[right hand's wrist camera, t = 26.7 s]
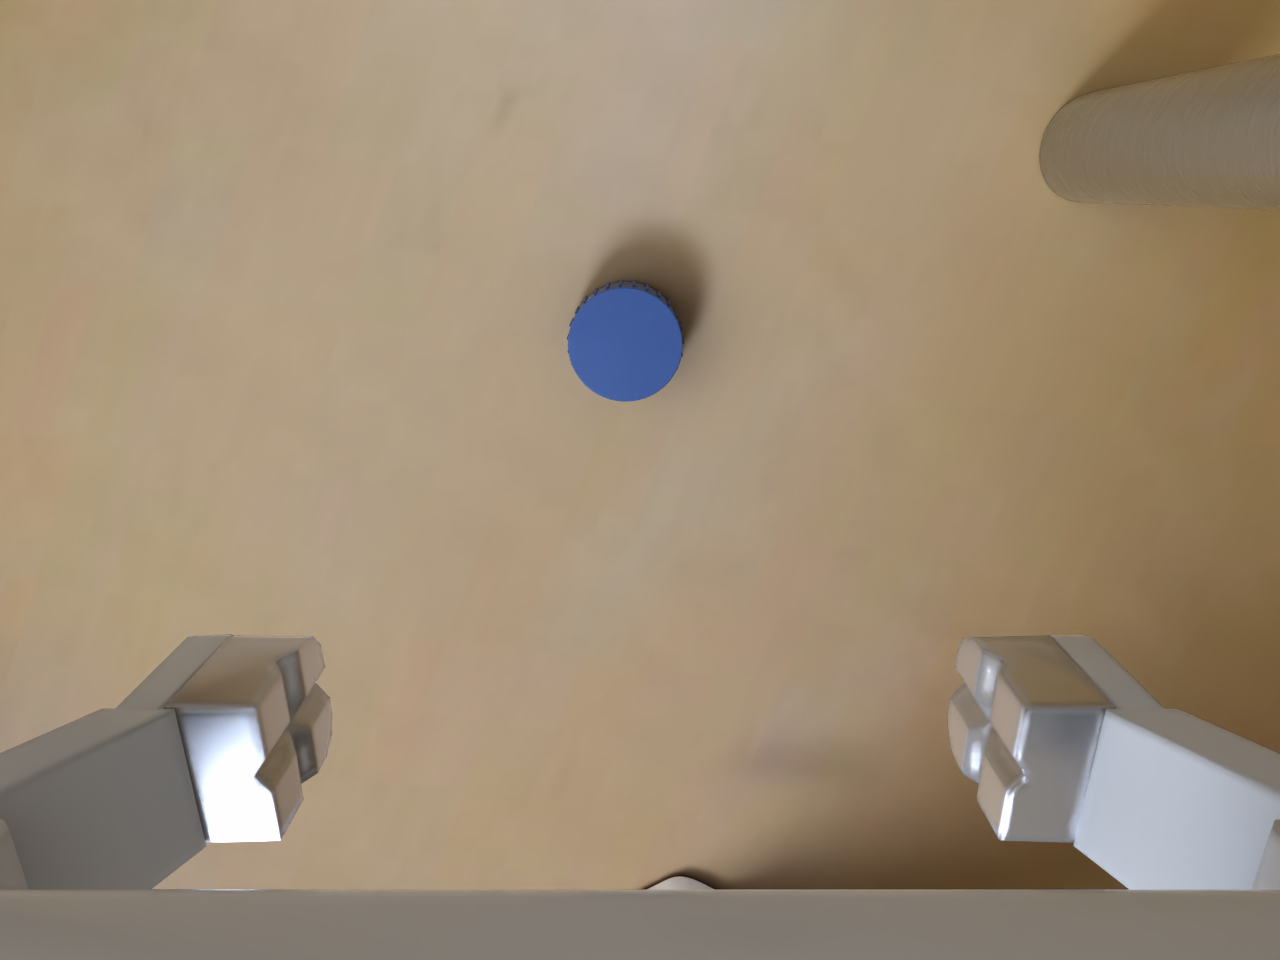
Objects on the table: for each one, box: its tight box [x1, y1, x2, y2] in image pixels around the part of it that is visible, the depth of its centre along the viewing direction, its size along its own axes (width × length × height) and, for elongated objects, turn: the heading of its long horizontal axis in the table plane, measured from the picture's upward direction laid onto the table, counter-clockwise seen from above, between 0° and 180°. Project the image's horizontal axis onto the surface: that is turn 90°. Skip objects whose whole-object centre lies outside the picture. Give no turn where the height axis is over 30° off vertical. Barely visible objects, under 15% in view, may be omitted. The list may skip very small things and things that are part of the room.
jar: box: [1040, 54, 1280, 210], centre depth 25 cm, size 4×4×16 cm
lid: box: [567, 280, 684, 401], centre depth 34 cm, size 5×5×2 cm
